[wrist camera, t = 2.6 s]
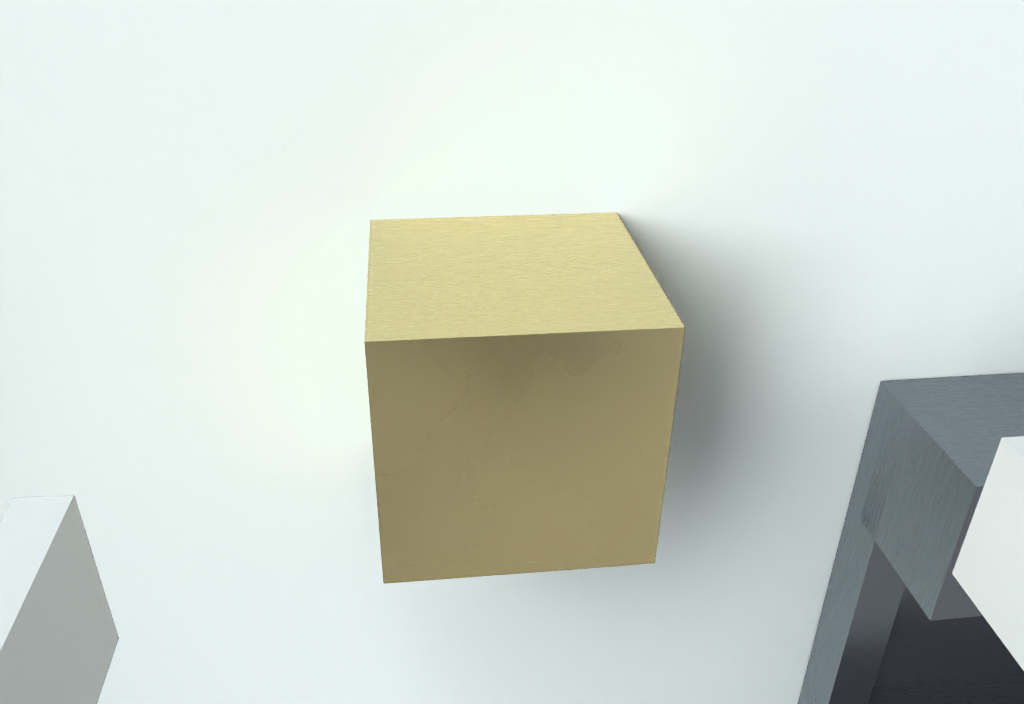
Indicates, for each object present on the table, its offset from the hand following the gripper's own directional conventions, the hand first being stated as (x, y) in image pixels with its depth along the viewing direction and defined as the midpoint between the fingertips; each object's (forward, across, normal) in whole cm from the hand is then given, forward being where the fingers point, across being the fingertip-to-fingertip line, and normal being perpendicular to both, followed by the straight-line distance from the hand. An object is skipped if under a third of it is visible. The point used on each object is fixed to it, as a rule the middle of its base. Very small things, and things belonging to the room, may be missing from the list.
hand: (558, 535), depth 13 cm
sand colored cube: (+7, 0, 0) cm, 7 cm away
